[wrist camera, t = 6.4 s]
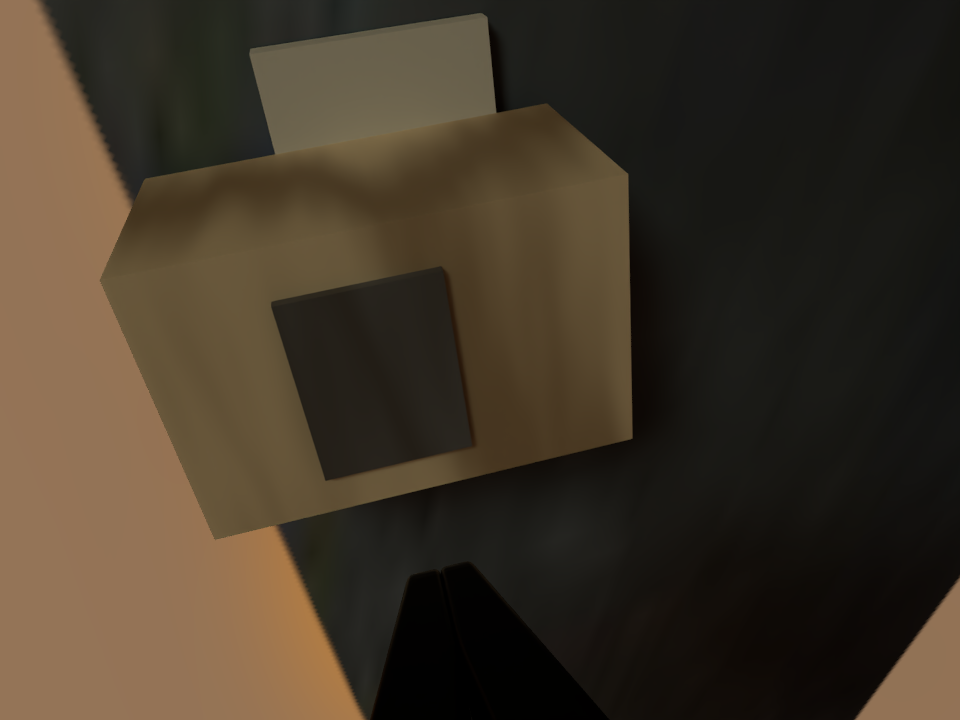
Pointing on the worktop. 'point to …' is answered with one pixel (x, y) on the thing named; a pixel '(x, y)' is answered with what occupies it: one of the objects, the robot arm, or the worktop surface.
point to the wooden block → (380, 313)
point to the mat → (375, 81)
